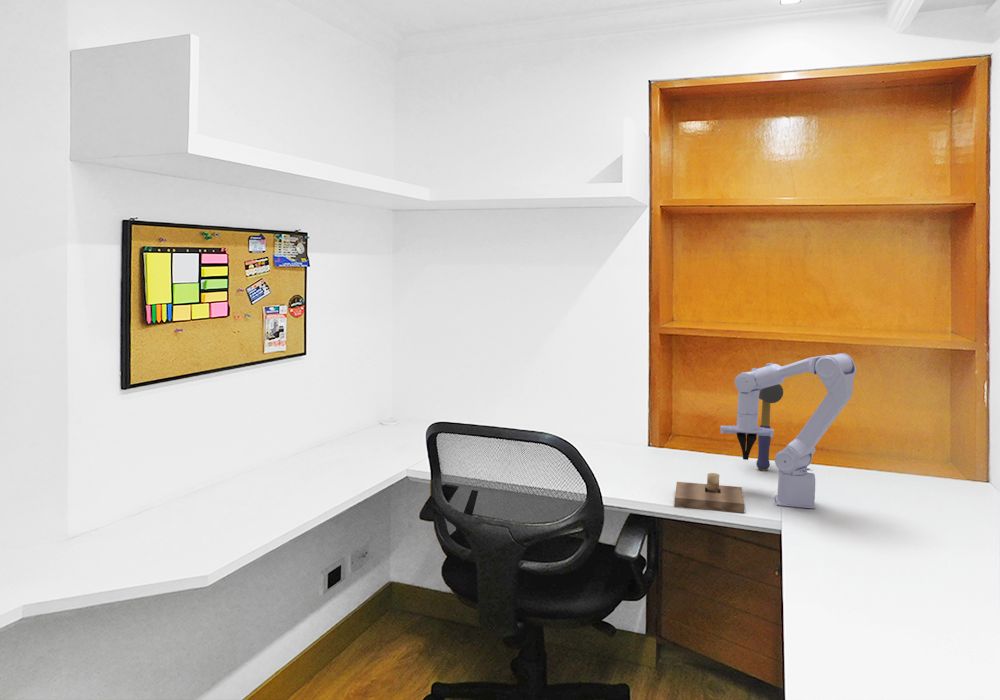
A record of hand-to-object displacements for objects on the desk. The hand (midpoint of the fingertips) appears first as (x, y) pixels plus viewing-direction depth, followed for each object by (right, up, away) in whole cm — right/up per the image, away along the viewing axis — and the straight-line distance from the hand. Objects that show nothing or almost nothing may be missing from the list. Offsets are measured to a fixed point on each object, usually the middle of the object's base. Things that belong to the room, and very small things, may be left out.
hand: (745, 458), depth 209 cm
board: (-13, -10, -9) cm, 19 cm away
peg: (-12, -10, -7) cm, 17 cm away
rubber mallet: (+13, -7, +22) cm, 27 cm away
